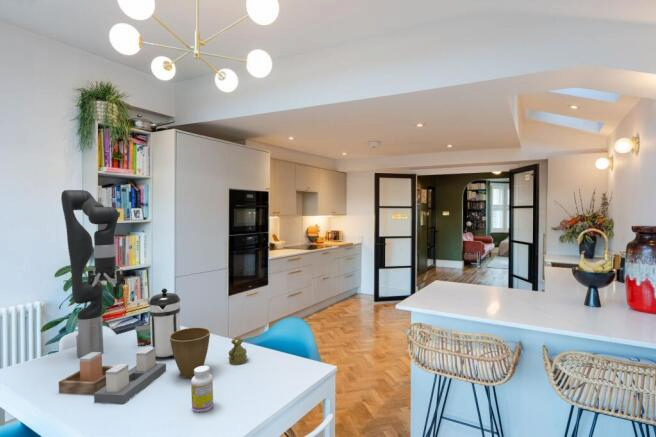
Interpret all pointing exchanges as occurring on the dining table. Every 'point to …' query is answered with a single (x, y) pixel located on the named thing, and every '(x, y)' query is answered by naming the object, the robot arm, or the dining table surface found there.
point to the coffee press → (164, 321)
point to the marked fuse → (91, 367)
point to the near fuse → (117, 378)
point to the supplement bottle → (202, 389)
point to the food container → (143, 334)
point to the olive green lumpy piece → (237, 352)
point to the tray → (82, 384)
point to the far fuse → (145, 359)
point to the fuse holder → (130, 385)
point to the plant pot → (190, 349)
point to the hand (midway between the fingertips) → (106, 295)
